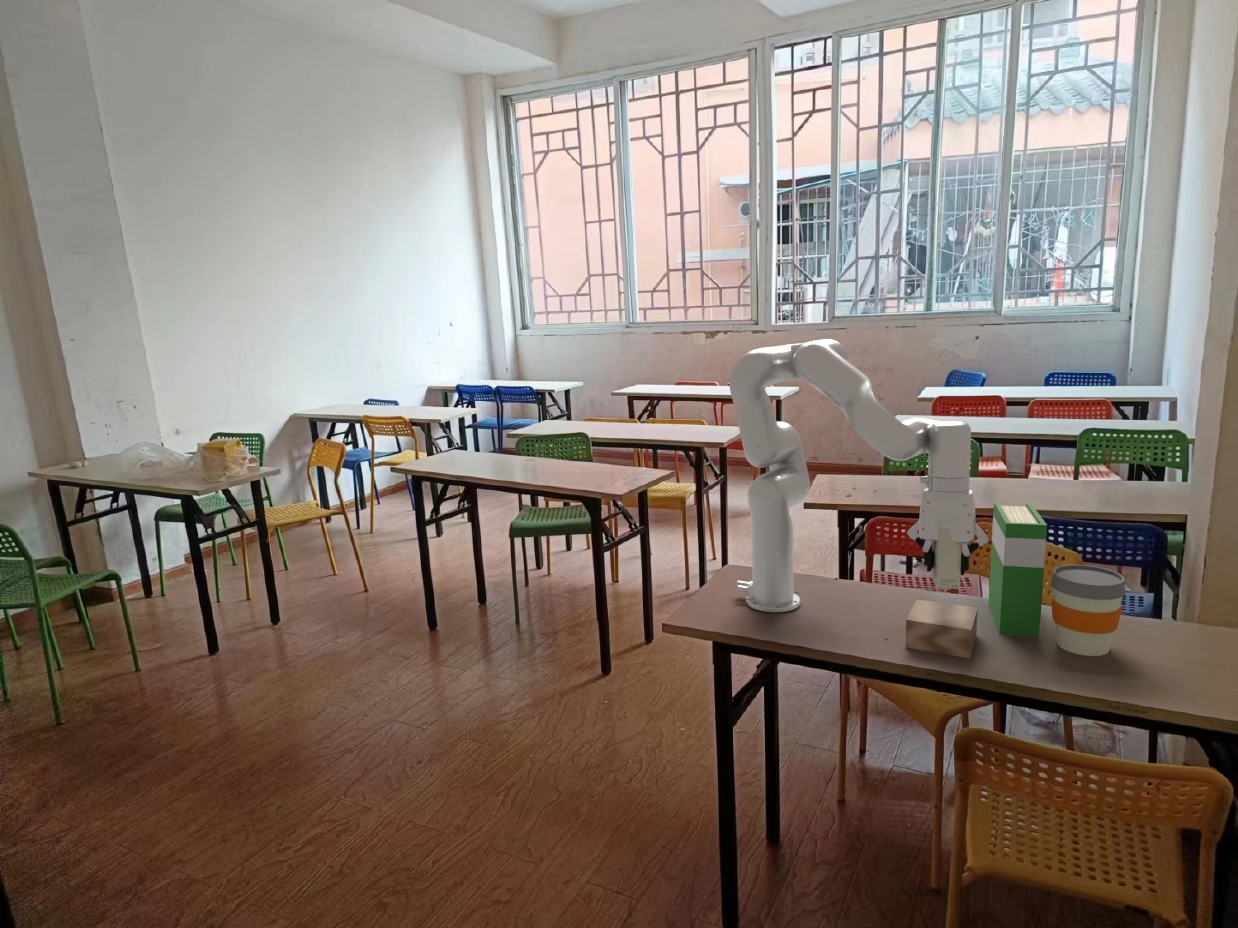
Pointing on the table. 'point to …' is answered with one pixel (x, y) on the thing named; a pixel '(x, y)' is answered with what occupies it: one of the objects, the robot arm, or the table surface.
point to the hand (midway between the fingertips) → (946, 570)
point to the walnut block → (941, 628)
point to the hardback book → (1017, 569)
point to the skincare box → (946, 561)
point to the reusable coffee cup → (1086, 607)
